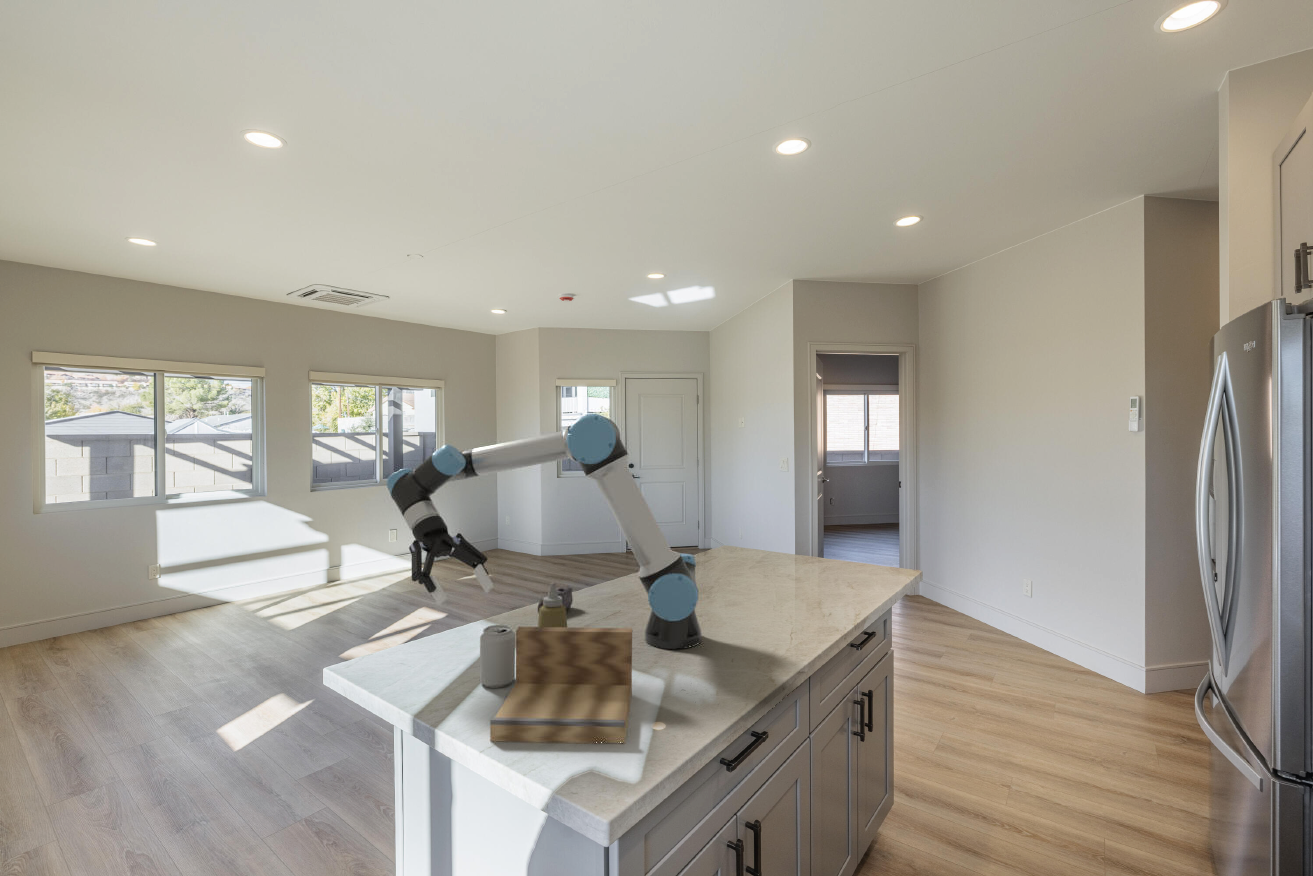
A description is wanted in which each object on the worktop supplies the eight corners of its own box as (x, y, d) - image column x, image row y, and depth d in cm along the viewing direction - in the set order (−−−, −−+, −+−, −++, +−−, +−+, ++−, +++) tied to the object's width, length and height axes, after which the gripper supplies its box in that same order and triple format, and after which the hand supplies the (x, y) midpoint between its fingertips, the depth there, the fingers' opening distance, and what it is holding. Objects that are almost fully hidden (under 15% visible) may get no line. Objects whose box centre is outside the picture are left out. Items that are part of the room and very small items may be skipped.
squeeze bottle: (575, 653, 148) (575, 581, 148) (556, 664, 141) (557, 589, 141) (548, 648, 152) (548, 578, 152) (528, 658, 144) (529, 585, 144)
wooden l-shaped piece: (631, 694, 125) (632, 628, 125) (624, 743, 105) (625, 665, 105) (518, 692, 125) (519, 626, 125) (490, 741, 105) (490, 663, 105)
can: (505, 691, 126) (505, 635, 126) (473, 687, 127) (473, 632, 127) (520, 677, 133) (520, 624, 133) (489, 674, 135) (490, 621, 135)
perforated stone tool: (544, 621, 174) (544, 597, 174) (531, 618, 177) (531, 594, 176) (577, 608, 186) (578, 586, 186) (565, 606, 189) (565, 584, 189)
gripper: (459, 527, 156) (499, 593, 148) (371, 540, 134) (412, 618, 127) (474, 509, 153) (515, 575, 145) (386, 519, 132) (429, 598, 124)
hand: (467, 595), depth 136 cm, fingers open, 13 cm apart
